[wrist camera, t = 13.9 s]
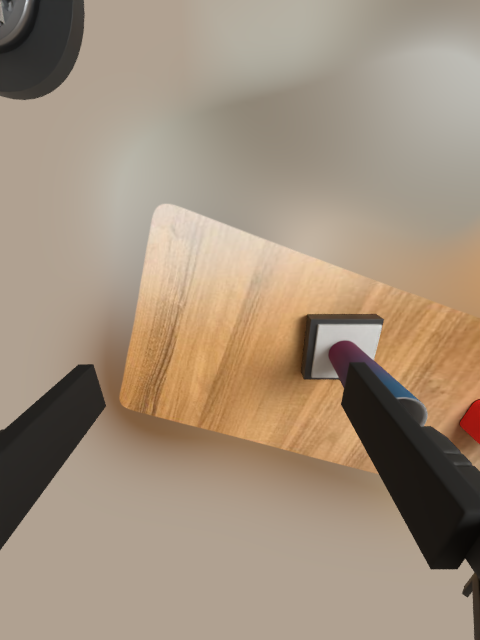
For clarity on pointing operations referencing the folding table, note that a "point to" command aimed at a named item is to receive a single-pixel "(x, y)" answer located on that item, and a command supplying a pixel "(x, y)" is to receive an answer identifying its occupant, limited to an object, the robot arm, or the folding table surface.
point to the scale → (336, 340)
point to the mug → (472, 421)
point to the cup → (351, 352)
